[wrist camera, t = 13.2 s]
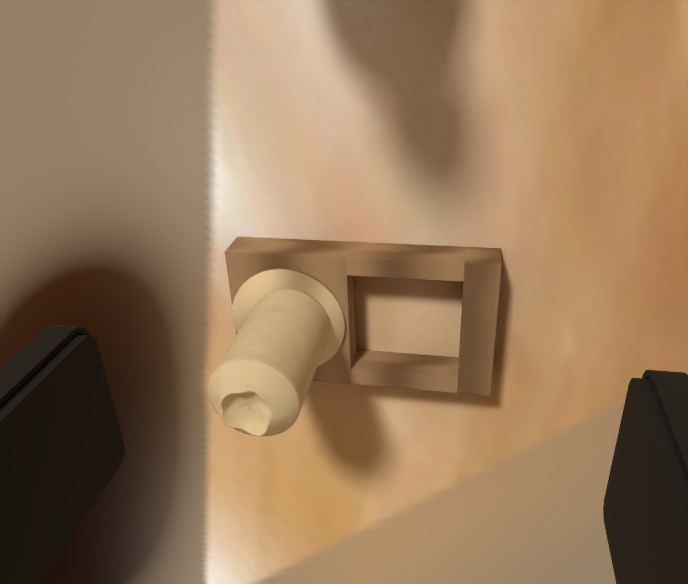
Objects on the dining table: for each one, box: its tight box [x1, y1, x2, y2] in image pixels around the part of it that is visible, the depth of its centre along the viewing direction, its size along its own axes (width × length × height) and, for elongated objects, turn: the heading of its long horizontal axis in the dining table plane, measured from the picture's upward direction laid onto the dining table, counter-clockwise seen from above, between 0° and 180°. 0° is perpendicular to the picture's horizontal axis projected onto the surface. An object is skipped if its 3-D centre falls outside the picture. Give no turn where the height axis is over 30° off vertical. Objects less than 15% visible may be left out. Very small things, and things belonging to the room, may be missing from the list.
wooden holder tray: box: [225, 237, 502, 396], centre depth 44 cm, size 18×10×3 cm, turn 91°
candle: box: [208, 288, 330, 436], centre depth 40 cm, size 6×6×10 cm
